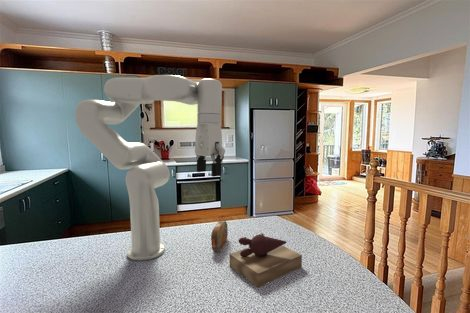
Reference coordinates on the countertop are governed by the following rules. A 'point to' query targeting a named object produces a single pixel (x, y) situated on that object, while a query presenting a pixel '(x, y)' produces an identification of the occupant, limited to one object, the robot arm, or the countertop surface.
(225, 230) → the tin
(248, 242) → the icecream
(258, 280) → the base
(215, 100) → the robot arm
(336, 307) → the countertop surface
